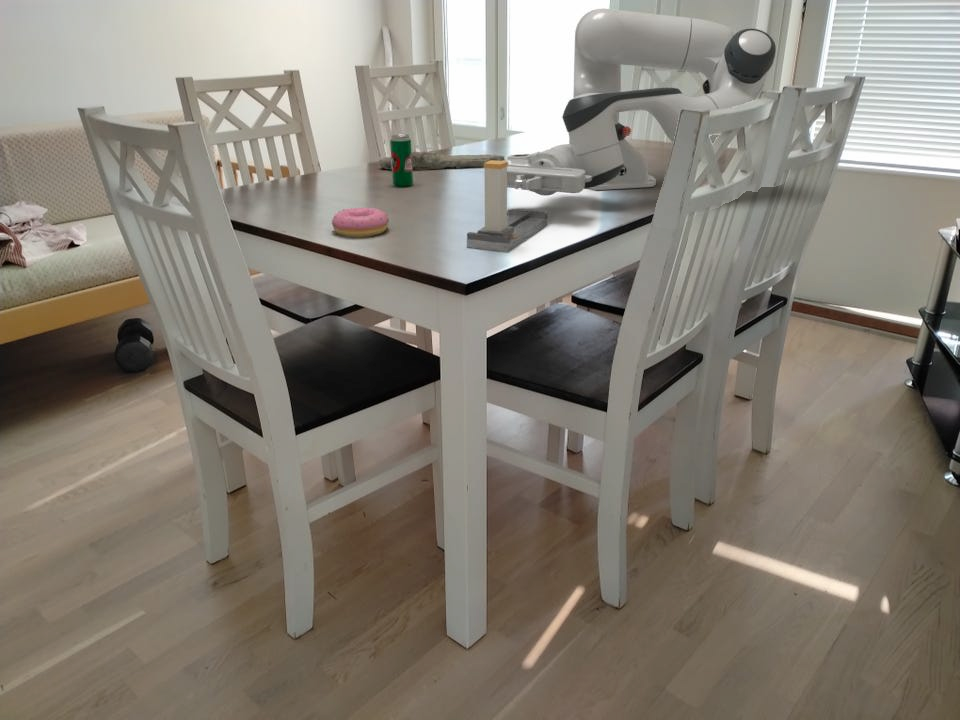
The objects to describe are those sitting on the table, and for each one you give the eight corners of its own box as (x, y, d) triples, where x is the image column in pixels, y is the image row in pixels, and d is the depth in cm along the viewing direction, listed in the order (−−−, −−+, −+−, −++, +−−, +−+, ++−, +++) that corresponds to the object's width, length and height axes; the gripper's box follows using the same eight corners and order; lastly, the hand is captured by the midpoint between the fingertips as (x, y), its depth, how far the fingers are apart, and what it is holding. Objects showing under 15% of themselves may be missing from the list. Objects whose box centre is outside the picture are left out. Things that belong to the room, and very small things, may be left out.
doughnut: (326, 229, 145) (324, 208, 144) (379, 222, 149) (378, 202, 148) (341, 242, 136) (339, 220, 135) (397, 235, 141) (396, 213, 139)
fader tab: (489, 229, 136) (488, 159, 130) (513, 232, 134) (514, 160, 129) (477, 236, 132) (476, 163, 126) (503, 239, 130) (503, 165, 124)
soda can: (410, 188, 179) (407, 137, 174) (390, 187, 180) (387, 136, 175) (415, 183, 183) (413, 134, 178) (396, 183, 184) (393, 133, 179)
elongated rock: (507, 174, 202) (501, 169, 211) (508, 154, 200) (502, 150, 209) (379, 171, 197) (379, 166, 206) (379, 151, 195) (378, 147, 204)
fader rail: (510, 221, 148) (510, 209, 147) (547, 225, 145) (547, 212, 144) (466, 247, 132) (466, 233, 131) (507, 252, 129) (507, 238, 128)
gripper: (594, 192, 150) (571, 206, 139) (503, 184, 158) (474, 197, 147) (595, 160, 147) (572, 172, 136) (503, 154, 156) (474, 165, 144)
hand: (521, 185), depth 142 cm, fingers closed
